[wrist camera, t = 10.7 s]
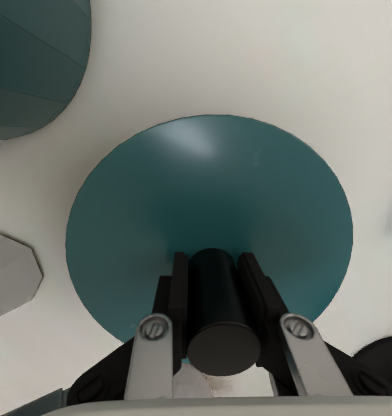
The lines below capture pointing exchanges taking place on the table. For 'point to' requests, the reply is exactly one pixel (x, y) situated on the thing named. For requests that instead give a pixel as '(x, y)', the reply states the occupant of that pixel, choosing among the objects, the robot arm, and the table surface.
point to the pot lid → (208, 231)
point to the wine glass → (378, 358)
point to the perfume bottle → (190, 383)
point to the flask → (16, 274)
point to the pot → (40, 60)
